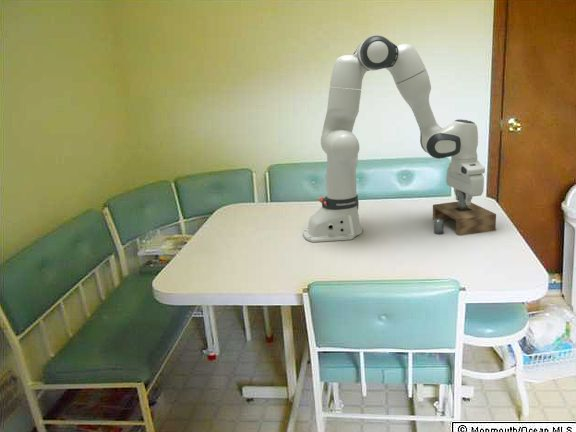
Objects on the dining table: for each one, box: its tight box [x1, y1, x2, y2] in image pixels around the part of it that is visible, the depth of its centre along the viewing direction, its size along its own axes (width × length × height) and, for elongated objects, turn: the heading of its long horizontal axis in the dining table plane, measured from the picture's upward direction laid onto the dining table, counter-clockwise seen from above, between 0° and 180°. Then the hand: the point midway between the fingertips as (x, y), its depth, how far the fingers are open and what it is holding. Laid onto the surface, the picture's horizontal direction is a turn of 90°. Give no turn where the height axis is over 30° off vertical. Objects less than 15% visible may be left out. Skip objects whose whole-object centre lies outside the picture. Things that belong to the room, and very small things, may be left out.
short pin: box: [433, 218, 444, 235], centre depth 173 cm, size 3×3×5 cm
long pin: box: [458, 190, 468, 212], centre depth 178 cm, size 3×3×14 cm
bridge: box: [432, 200, 497, 236], centre depth 180 cm, size 14×20×6 cm
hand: (463, 202), depth 178 cm, fingers open, 5 cm apart
